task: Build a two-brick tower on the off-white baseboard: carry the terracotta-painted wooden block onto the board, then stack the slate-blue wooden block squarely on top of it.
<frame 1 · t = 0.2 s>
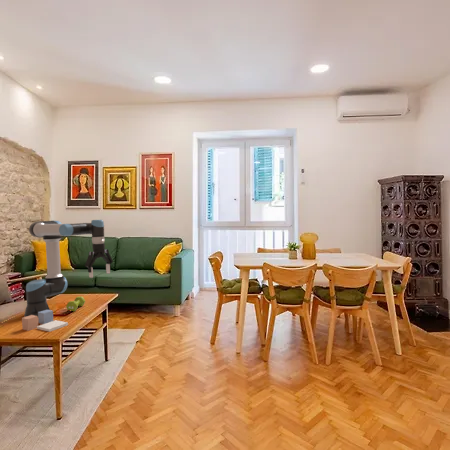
hand: (100, 275, 207), 28 cm above the table, fingers open, 13 cm apart
dumbbell: (76, 309, 230), on the table
slate block: (45, 322, 202), on the table
terracotta block: (30, 328, 191), on the table
baseboard: (52, 326, 192), on the table
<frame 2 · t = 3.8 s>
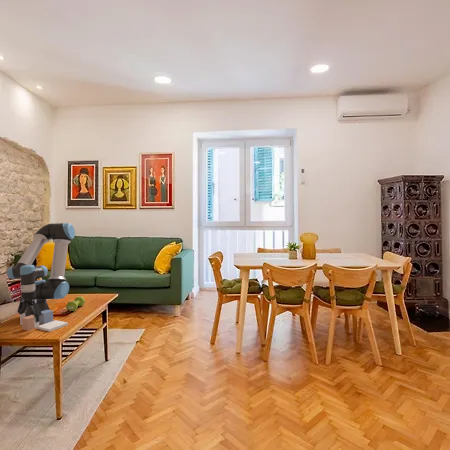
hand: (29, 326, 190), 2 cm above the table, fingers open, 13 cm apart
nothing on the table moved.
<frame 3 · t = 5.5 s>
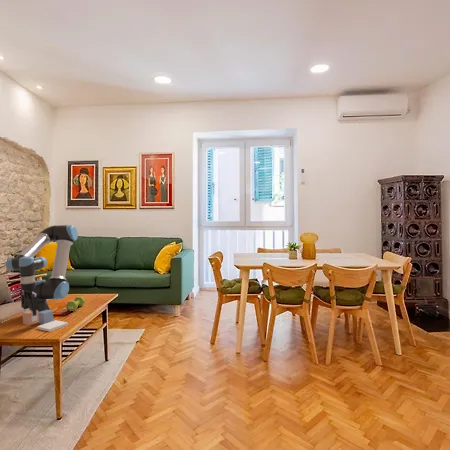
hand: (30, 319, 192), 5 cm above the table, fingers closed on terracotta block, 6 cm apart
terracotta block: (31, 322, 192), point 3 cm above the table, touching gripper
everything else where it was.
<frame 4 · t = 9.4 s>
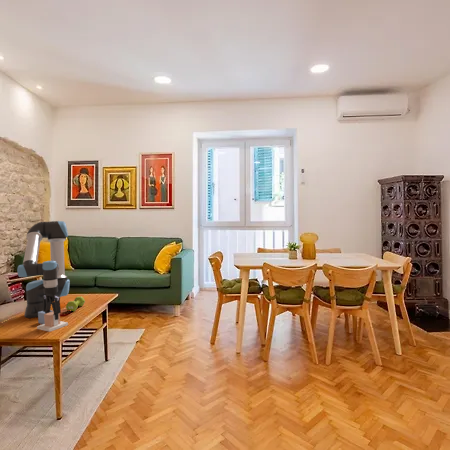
hand: (52, 324, 192), 2 cm above the table, fingers closed on terracotta block, 6 cm apart
terracotta block: (52, 324, 192), point 2 cm above the table, touching baseboard, gripper
everything else where it was.
when the fingers open (2 cm above the table, at t = 9.7 s): terracotta block stays where it is, resting on baseboard.
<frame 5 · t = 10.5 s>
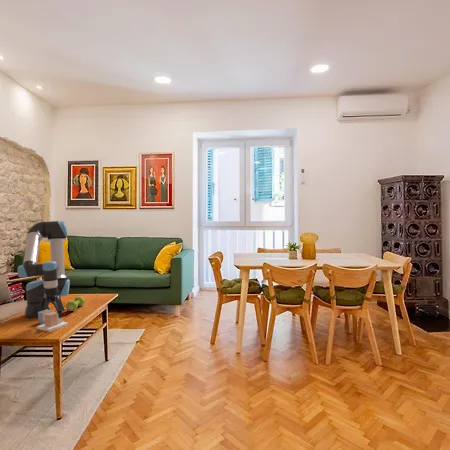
hand: (52, 321, 192), 3 cm above the table, fingers open, 13 cm apart
terracotta block: (52, 324, 192), point 1 cm above the table, touching baseboard
everything else where it was.
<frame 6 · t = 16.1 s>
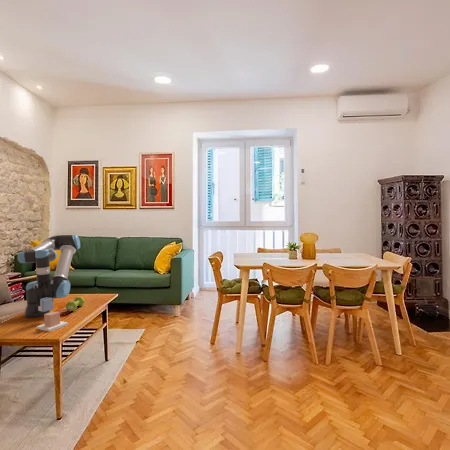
hand: (45, 309, 202), 8 cm above the table, fingers closed on slate block, 6 cm apart
slate block: (45, 309, 202), point 8 cm above the table, touching gripper
everything else where it was.
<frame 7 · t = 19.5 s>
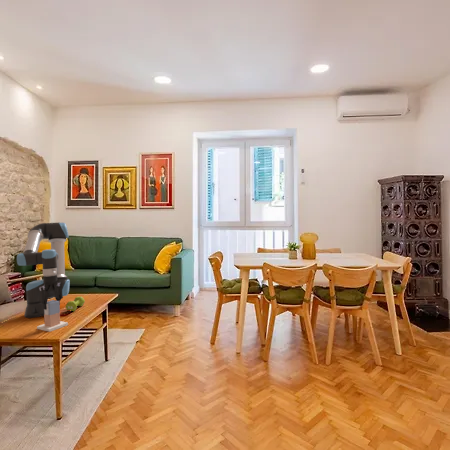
hand: (52, 312, 192), 9 cm above the table, fingers closed on slate block, 6 cm apart
slate block: (52, 313, 192), point 8 cm above the table, touching gripper, terracotta block
terracotta block: (52, 324, 192), point 1 cm above the table, touching baseboard, gripper, slate block
everything else where it was.
when the fingers open (9 cm above the table, at t = 19.8 s): slate block stays where it is, resting on terracotta block.
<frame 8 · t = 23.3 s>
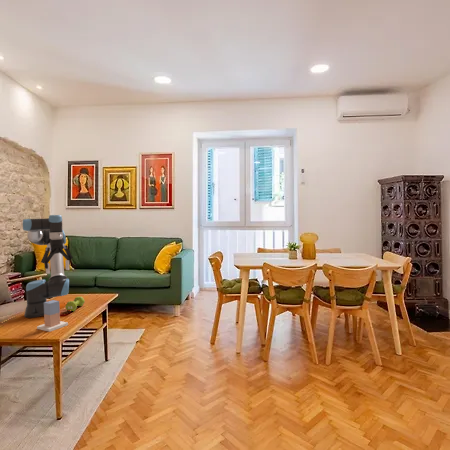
hand: (58, 271, 203), 32 cm above the table, fingers open, 13 cm apart
slate block: (52, 313, 192), point 8 cm above the table, touching terracotta block
terracotta block: (52, 324, 192), point 1 cm above the table, touching baseboard, slate block
everything else where it was.
at the end: terracotta block inside the target area on the baseboard (0.3 cm from its centre), point 1.5 cm above the baseboard's base; slate block 0.1 cm off-centre on the terracotta block, point 7.0 cm above the terracotta block's base; slate block tilted 0° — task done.
